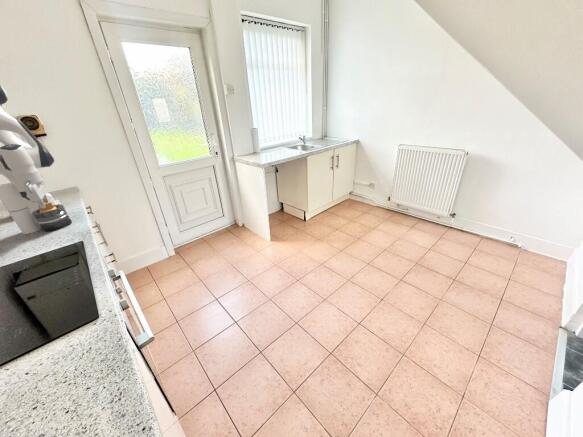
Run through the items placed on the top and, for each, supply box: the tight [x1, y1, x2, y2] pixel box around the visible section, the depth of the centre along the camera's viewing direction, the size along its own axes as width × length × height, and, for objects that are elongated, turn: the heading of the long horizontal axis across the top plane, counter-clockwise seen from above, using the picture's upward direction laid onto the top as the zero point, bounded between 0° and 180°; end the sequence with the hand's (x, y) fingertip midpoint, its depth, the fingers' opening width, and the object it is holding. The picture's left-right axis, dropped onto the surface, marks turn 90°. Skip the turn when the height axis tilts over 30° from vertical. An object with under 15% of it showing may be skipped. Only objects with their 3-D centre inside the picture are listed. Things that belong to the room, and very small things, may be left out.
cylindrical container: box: [0, 182, 42, 235], centre depth 119 cm, size 7×7×25 cm
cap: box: [38, 202, 56, 213], centre depth 123 cm, size 7×7×5 cm
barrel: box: [32, 203, 73, 233], centre depth 126 cm, size 12×12×10 cm
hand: (45, 205), depth 122 cm, fingers open, 8 cm apart
